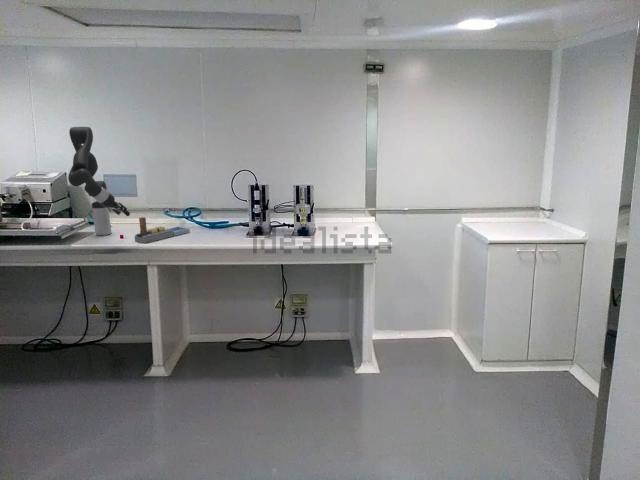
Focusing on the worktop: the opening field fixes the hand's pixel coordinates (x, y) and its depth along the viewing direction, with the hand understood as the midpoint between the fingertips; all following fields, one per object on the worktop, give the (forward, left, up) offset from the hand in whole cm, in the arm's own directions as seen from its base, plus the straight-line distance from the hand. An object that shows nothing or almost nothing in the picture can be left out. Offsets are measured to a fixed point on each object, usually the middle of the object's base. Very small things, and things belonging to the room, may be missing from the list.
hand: (124, 214), depth 276 cm
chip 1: (-10, +14, -15) cm, 23 cm away
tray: (-20, +28, -18) cm, 39 cm away
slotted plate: (-11, +15, -18) cm, 26 cm away
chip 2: (-13, +19, -15) cm, 27 cm away
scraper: (-7, +9, -15) cm, 19 cm away
